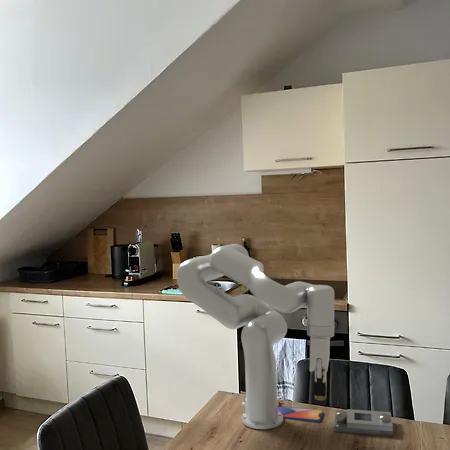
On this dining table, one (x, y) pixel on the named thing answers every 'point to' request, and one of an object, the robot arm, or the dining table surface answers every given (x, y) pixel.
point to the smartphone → (301, 414)
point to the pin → (321, 396)
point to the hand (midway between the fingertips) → (320, 392)
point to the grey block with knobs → (364, 422)
